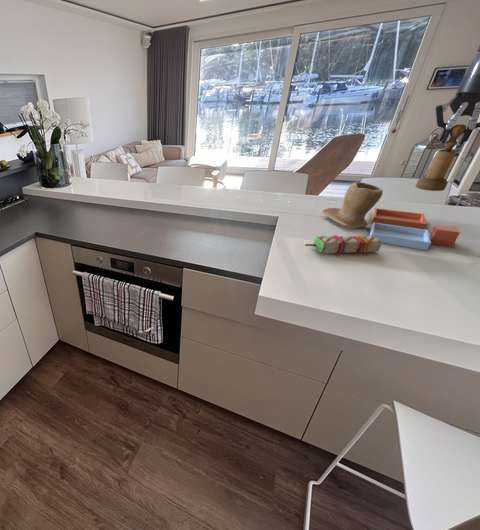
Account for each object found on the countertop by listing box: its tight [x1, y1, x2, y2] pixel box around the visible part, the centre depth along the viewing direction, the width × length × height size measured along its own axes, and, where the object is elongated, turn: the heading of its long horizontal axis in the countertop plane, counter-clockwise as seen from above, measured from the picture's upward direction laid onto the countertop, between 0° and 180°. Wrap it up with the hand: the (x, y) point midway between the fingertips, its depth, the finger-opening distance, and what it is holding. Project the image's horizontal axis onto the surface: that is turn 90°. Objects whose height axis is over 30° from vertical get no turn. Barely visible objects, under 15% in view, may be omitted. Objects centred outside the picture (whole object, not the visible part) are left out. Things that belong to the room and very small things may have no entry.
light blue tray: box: [369, 222, 432, 251], centre depth 96 cm, size 14×11×3 cm
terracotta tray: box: [371, 207, 427, 230], centre depth 107 cm, size 14×11×3 cm
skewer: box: [304, 234, 383, 254], centre depth 91 cm, size 21×6×5 cm, turn 84°
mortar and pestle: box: [414, 124, 467, 192], centre depth 85 cm, size 7×6×18 cm
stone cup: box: [321, 181, 384, 229], centre depth 107 cm, size 15×12×15 cm
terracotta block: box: [429, 223, 461, 248], centre depth 91 cm, size 5×5×5 cm
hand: (451, 143), depth 83 cm, fingers closed on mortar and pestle, 3 cm apart
